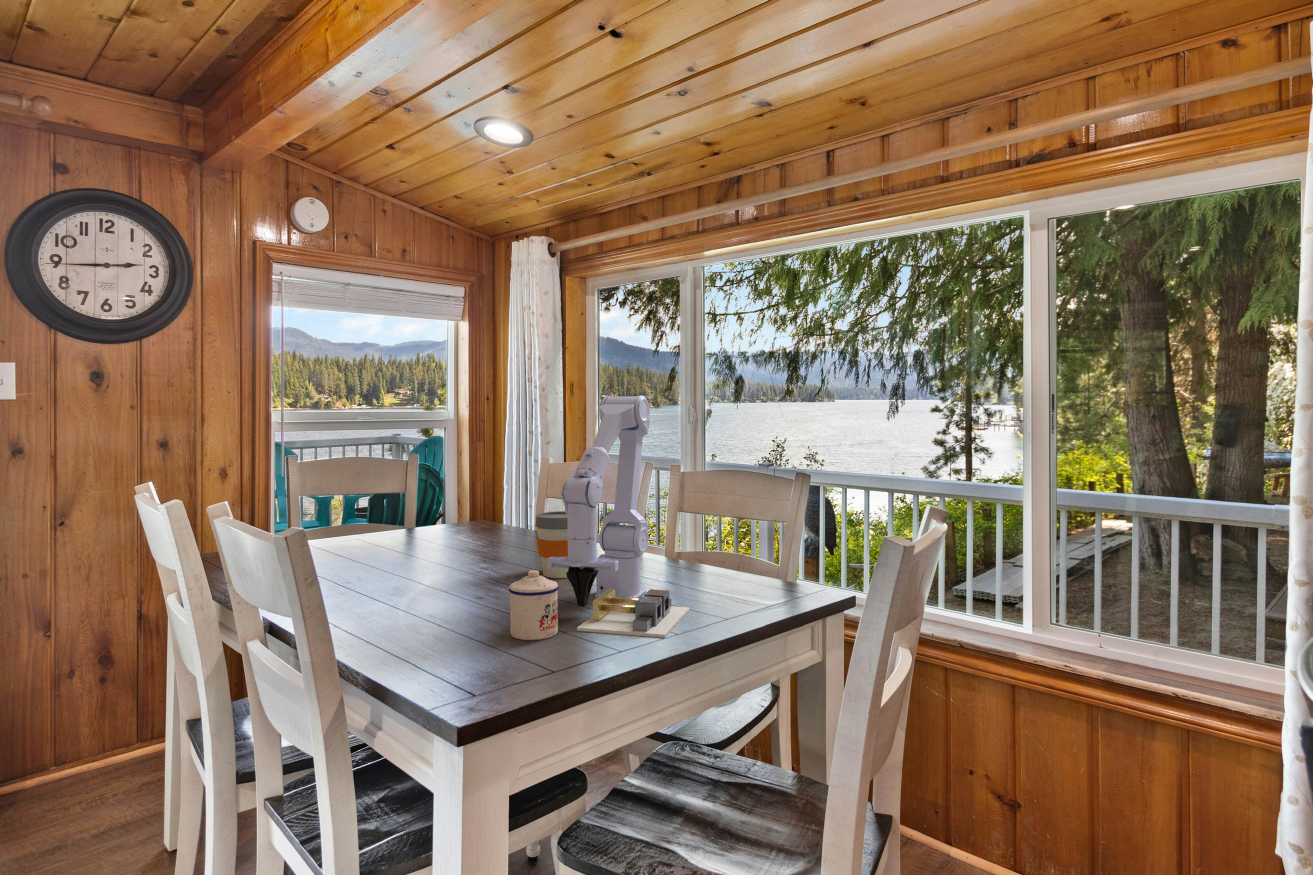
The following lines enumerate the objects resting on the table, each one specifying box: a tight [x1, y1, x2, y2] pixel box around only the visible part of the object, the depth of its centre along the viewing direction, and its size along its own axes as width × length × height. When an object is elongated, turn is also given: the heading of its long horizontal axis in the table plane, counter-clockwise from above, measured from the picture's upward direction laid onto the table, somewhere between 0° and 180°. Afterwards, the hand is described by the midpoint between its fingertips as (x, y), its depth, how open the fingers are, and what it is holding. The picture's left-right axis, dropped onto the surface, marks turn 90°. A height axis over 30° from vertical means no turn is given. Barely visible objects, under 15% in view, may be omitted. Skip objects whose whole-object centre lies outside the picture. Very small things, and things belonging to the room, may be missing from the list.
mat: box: [576, 605, 690, 639], centre depth 146 cm, size 17×19×1 cm
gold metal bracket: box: [592, 589, 640, 620], centre depth 147 cm, size 8×10×4 cm
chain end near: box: [633, 595, 662, 632], centre depth 141 cm, size 4×8×4 cm, turn 164°
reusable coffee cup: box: [534, 510, 569, 579], centre depth 187 cm, size 13×13×15 cm
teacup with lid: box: [508, 569, 560, 641], centre depth 139 cm, size 12×9×12 cm
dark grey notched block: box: [643, 588, 672, 618], centre depth 150 cm, size 4×8×4 cm, turn 164°
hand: (582, 605), depth 149 cm, fingers closed
